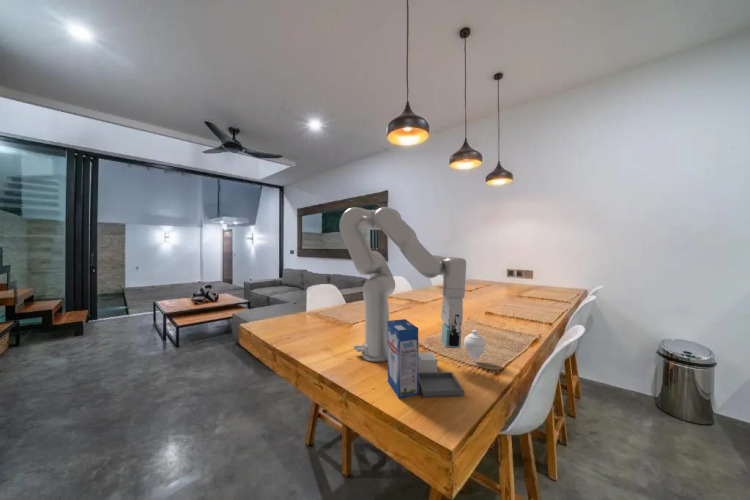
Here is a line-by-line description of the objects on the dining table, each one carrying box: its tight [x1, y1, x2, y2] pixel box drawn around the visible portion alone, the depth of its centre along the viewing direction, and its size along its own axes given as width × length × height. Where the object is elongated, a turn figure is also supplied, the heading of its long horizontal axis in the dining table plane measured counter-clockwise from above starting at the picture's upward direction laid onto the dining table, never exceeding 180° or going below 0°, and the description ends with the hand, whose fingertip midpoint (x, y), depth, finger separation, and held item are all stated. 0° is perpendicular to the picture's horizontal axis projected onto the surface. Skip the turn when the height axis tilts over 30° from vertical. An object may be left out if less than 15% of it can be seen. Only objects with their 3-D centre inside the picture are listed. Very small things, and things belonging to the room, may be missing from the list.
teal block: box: [440, 323, 462, 349], centre depth 97 cm, size 5×6×6 cm
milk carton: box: [387, 318, 420, 400], centre depth 83 cm, size 10×6×20 cm, turn 17°
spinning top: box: [463, 329, 487, 363], centre depth 101 cm, size 8×8×12 cm
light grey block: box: [418, 352, 441, 373], centre depth 96 cm, size 9×6×5 cm, turn 92°
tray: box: [419, 371, 465, 398], centre depth 84 cm, size 12×11×2 cm
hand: (450, 341), depth 97 cm, fingers closed on teal block, 6 cm apart
